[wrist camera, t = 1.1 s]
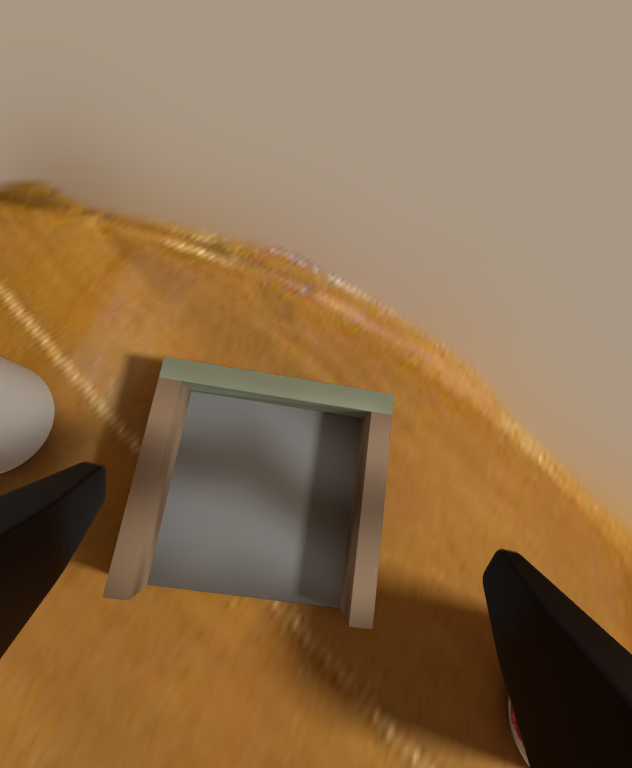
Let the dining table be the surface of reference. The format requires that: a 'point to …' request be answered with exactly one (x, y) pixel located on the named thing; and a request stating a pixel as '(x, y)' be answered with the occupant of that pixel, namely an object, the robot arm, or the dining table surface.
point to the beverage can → (22, 414)
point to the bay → (257, 490)
